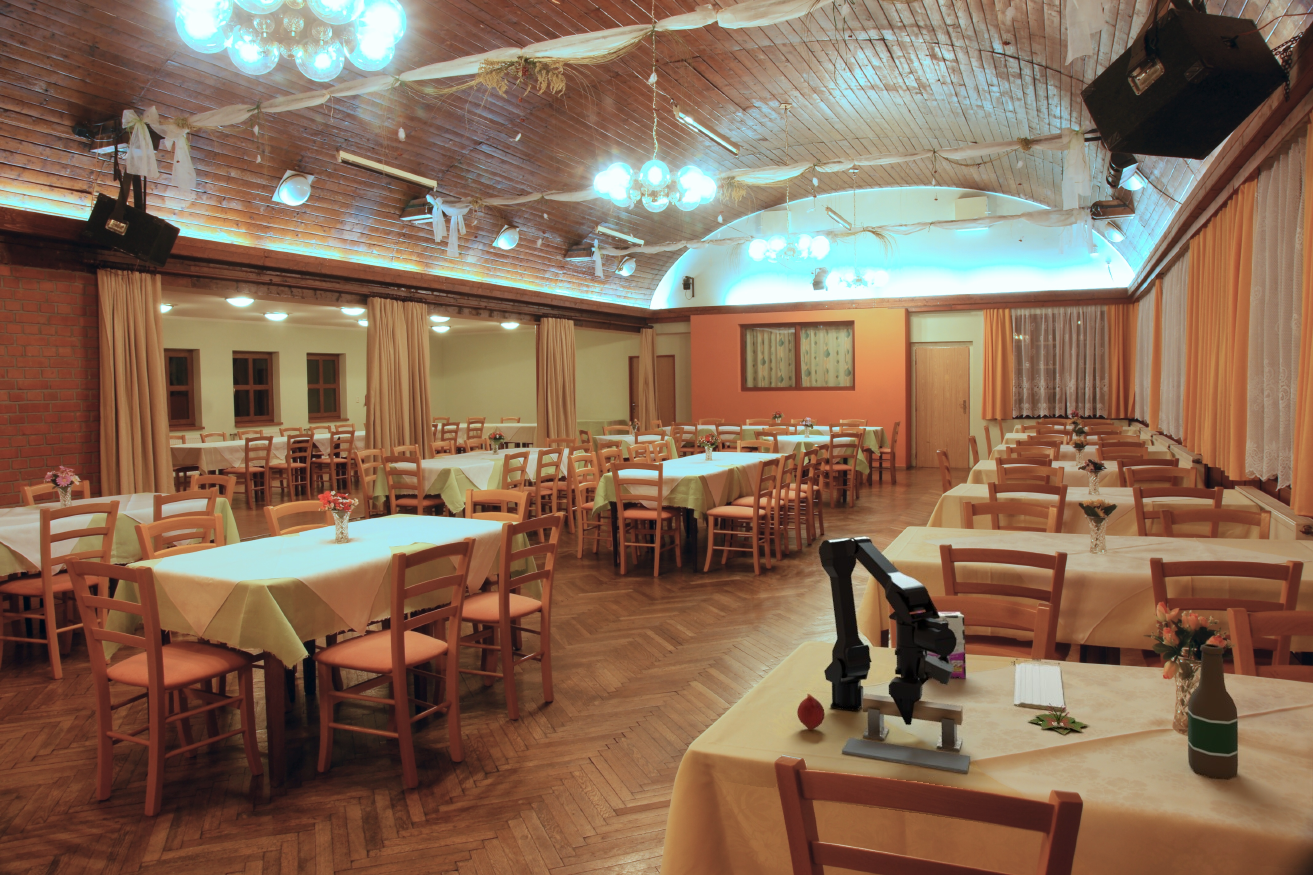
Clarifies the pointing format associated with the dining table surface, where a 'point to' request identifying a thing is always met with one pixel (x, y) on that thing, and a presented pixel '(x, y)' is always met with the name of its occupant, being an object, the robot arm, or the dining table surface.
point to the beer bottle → (1212, 720)
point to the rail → (921, 709)
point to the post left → (875, 725)
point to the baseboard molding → (1038, 686)
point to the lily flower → (1058, 721)
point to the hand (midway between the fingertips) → (911, 716)
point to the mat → (907, 755)
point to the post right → (949, 736)
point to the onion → (810, 712)
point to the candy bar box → (958, 654)
